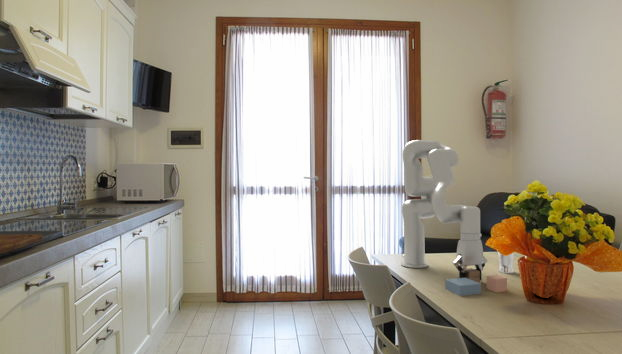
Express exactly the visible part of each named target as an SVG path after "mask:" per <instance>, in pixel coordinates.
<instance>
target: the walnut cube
mask: <svg viewBox="0 0 622 354" xmlns="http://www.w3.org/2000/svg"><path fill="white" fill-rule="evenodd" d="M475 269H476V268H470V267H469V268H466V270H465V272H466V278H468V279H470V280H473V281H475V282H478V283H480V284H481V281H480V271H478V270H475Z"/></svg>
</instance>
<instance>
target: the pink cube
mask: <svg viewBox="0 0 622 354" xmlns="http://www.w3.org/2000/svg"><path fill="white" fill-rule="evenodd" d="M486 289H487V290H488V291H491V292H495V293H502V292H503V293H504V292H508V278H507V277H505V276H502V275H498V274H493V275H486Z"/></svg>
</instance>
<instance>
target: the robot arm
mask: <svg viewBox="0 0 622 354" xmlns="http://www.w3.org/2000/svg"><path fill="white" fill-rule="evenodd" d="M419 159H426V160H427V162H428V166H429V169H430V172H431V175H432V176H431V177H430V176H424V174H423V173H424V171H423V165H422V163H421V161H420V160H419ZM402 162H403V168H404V192H405V194H406V195H407V196H408V197H421V198H418V199H417V198H415V199H413V198H412V199H407V200H405V201H404V203H402V205H401V213H402V219H403V234H404V235H403V242H404V244H403V246H404V247H403V249H404V252H403V253H404V254H402V255H401V257H402V258H403V260H402V261H401V262H400V264H401V266H403V267H406V268H413V269H422V268H423V269H424V268H427V267H428V266H429V263H428V262H427V261H425V258H426V257H425V256H426V255H425V254H426V253H425V252H426V251H425V245H426V244H425V240H426V239H425V237H426V236H425V226H424V223H423V222H422V219H423V220H424V219H430V218H434V217H435V216H436V218H437V219H438V220H439V222H441V223H443V224H453V223H454V224H455V223H459V225H460V228H459V229H460V232H459V233H460V234H459V235H460V239H459V240H457V247H456V259H455V260H454V261H453V262H452V264H453V265H454V267H455V269H456V270H457V271H458V273H459V275H458V278H466V272H465V270H466V269H467V267H468V266H474V267H475V268H474V269H475V270H478V271H480V282H481V281H482V271H483V270H484V267H485V266H486V264H487V263H488V259H487V258H486V257H485V256H484V249H483V242H482V240H481V237H482V235H483V234H482V233H481V209H480V208H479V207H477V206H474V205H473V206H472V205H464V204H448V203H447V199H446V191H447V189H448V187H450V186H452V185H454V183H455V181H456V178H455V174H454V172H453V169H452V168H454V167H456V166H457V165H458V164H459V155H458V153H457V151H456V150H455V149H453V148H451V147H450V146H447V145H445V144H444V143H442V142H439V141H437V140H426V139H425V140H424V139H422V140H421V139H416V140H411V141H408V142H407V143H406V144H405V145H404V147H403V149H402Z"/></svg>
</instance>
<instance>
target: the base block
mask: <svg viewBox="0 0 622 354" xmlns="http://www.w3.org/2000/svg"><path fill="white" fill-rule="evenodd" d="M444 284H445V287H444V288H445V290H447V291H449V292H451V293H452V294H455V295H457V296H459V297H462V296H463V297H464V296H471V295H473V296H474V295H480V294H482V283H481V282H480V283H478V282H475V281H473V280H470V279H468V278H459V277H457V278H445V283H444Z"/></svg>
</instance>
